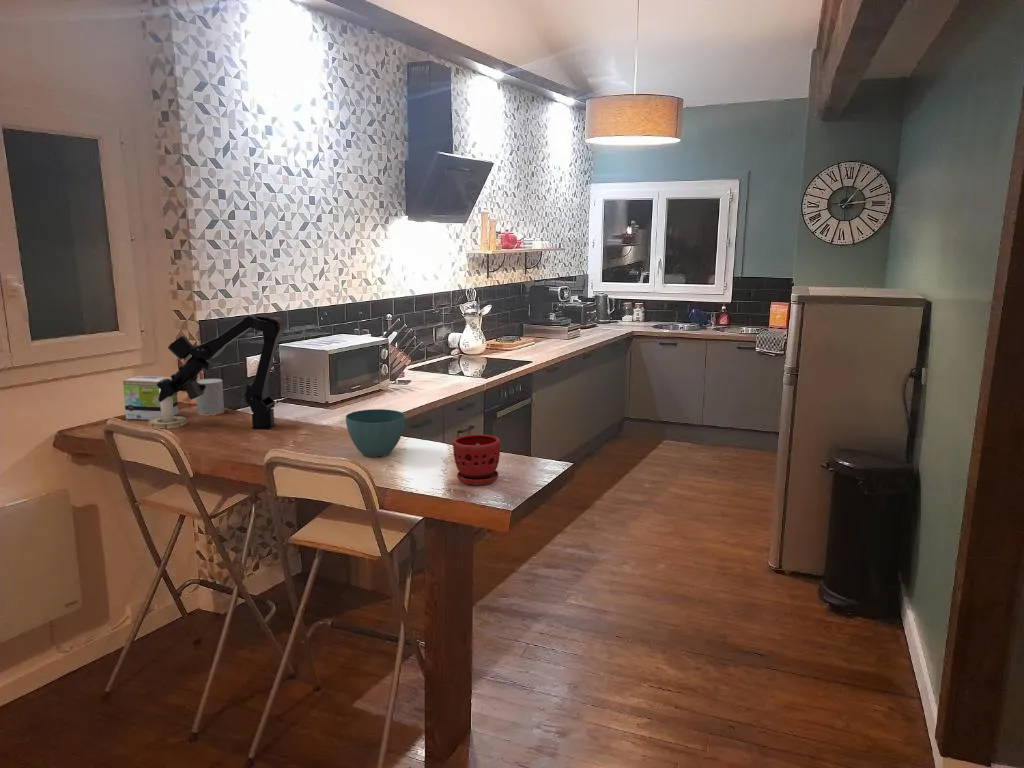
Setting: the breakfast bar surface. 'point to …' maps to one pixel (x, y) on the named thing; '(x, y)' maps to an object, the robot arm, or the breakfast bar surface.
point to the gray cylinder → (211, 397)
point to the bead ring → (176, 423)
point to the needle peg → (167, 409)
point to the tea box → (144, 397)
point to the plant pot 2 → (477, 458)
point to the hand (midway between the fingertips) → (162, 399)
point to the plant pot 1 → (375, 430)
